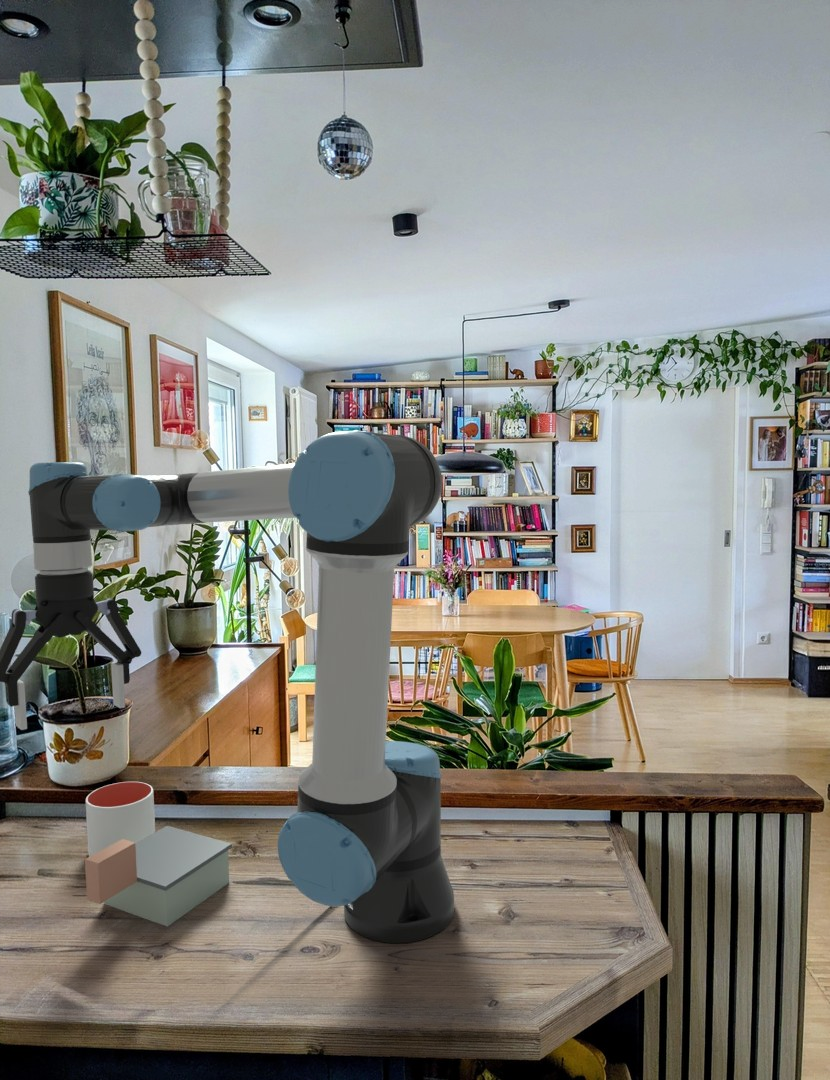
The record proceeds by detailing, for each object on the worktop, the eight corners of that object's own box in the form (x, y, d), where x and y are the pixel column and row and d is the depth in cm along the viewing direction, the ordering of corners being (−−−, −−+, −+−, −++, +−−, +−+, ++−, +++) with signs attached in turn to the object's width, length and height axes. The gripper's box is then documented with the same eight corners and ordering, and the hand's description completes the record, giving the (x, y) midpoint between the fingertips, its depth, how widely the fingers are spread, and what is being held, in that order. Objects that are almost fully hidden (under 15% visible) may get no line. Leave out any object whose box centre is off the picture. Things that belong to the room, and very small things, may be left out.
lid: (232, 852, 110) (230, 811, 110) (129, 921, 94) (127, 873, 93) (167, 834, 116) (165, 795, 116) (60, 895, 100) (57, 850, 99)
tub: (229, 887, 111) (228, 848, 110) (167, 932, 100) (165, 888, 99) (169, 868, 116) (167, 831, 116) (104, 908, 106) (102, 867, 105)
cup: (133, 873, 115) (130, 810, 114) (74, 867, 117) (71, 805, 116) (167, 842, 125) (165, 783, 124) (113, 837, 127) (110, 779, 126)
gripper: (139, 561, 119) (145, 693, 121) (-43, 577, 102) (-32, 730, 104) (159, 564, 114) (166, 703, 115) (-29, 582, 97) (-18, 744, 99)
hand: (72, 716), depth 110 cm, fingers open, 13 cm apart
